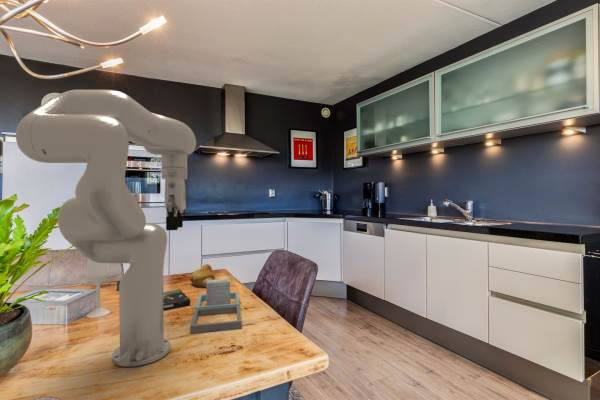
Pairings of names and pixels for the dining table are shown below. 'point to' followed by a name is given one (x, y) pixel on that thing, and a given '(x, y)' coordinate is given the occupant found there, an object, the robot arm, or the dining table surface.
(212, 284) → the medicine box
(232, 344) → the dining table surface
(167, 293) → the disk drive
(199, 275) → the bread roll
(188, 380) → the dining table surface
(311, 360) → the dining table surface
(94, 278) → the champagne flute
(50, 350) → the dining table surface
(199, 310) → the dock
